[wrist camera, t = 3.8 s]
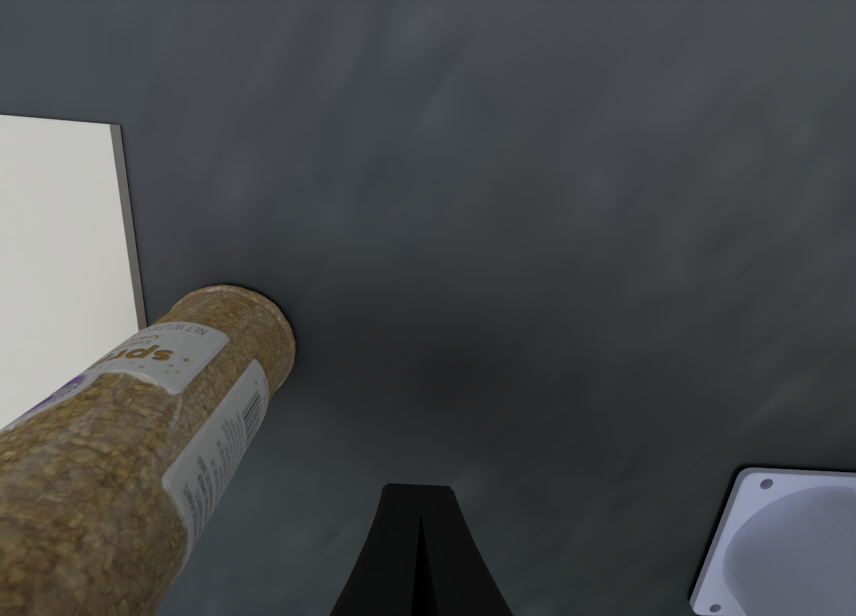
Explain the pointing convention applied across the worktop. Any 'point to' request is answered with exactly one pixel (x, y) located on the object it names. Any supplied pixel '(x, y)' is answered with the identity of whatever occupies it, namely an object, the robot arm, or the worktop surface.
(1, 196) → the mat
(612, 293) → the worktop surface
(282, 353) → the sprinkles bottle
